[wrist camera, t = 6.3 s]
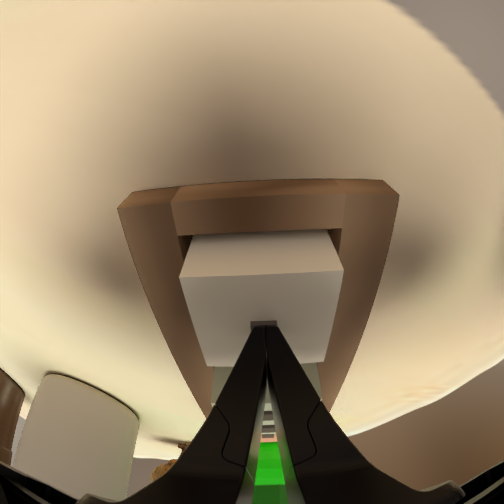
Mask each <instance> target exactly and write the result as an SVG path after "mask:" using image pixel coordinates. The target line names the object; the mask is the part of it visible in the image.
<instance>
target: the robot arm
mask: <svg viewBox="0 0 504 504" xmlns="http://www.w3.org/2000/svg"><path fill="white" fill-rule="evenodd" d="M266 353H267V357H266ZM267 381H268V389H269V395H270V401H271V407H272V413H273V418H274V424H275V430H276V436H277V441H278V447H279V453H280V459H281V464H282V470H283V476H284V481H285V487H286V493H287V498H288V504H504V460H503V461H502V462H500V463H498V464H496V465H494V466H492V467H491V468H489V469H487V470H486V471H484V472H482V473H480V474H479V475H477V476H476V477H474V478H472V479H471V480H469V481H467V482H466V483H464V484H462V485H460V486H458V485H457V484H455V483H454V482H453V481H451V480H450V481H447V482H444V483H441V484H438V485H436V486H433V487H430V488H427V489H424V490H420V491H418V490H416V489H413V488H411V487H409V486H407V485H406V484H404V483H402V482H400V481H398V480H397V479H395V478H393V477H391V476H390V475H388V474H386V473H385V472H383V471H381V470H380V469H378V468H376V467H375V466H374V465H373V464H371V463H370V462H369V461H368V460H367V459H366V458H365V457H364V456H363V455H362V453H361V452H360V451H359V450H358V449H357V448H356V446H355V445H354V444H353V443H352V442H351V441H350V440H349V438H348V437H347V436H346V435H345V433H344V432H343V431H342V430H341V428H340V427H339V426H338V424H337V423H336V422H335V420H334V419H333V417H332V416H331V414H330V413H329V411H328V410H327V408H326V406H325V405H324V403H323V401H321V398H320V397H319V395H318V393H317V392H316V390H315V388H314V387H313V385H312V383H311V382H310V380H309V378H308V376H307V375H306V373H305V371H304V370H303V368H302V366H301V365H300V363H299V361H298V360H297V358H296V356H295V354H294V353H293V351H292V349H291V348H290V346H289V344H288V342H287V341H286V339H285V337H284V336H283V334H282V332H281V330H280V329H279V327H278V326H277V325H272V326H266V328H265V326H254V327H253V328H252V330H251V332H250V334H249V337H248V339H247V341H246V343H245V345H244V347H243V349H242V351H241V353H240V355H239V357H238V359H237V361H236V363H235V365H234V367H233V369H232V371H231V373H230V375H229V377H228V379H227V381H226V383H225V385H224V387H223V389H222V391H221V393H220V394H219V396H218V398H217V400H216V402H215V405H214V406H213V408H212V410H211V411H210V413H209V415H208V417H207V419H206V420H205V422H204V424H203V425H202V427H201V428H200V430H199V431H198V433H197V434H196V436H195V437H194V439H193V440H192V441H191V443H190V444H189V445H188V447H187V448H186V449H185V450H184V452H183V453H182V454H181V456H180V457H179V458H178V459H177V461H176V462H175V463H174V464H173V466H172V467H171V468H170V469H169V470H168V471H167V472H166V473H165V474H163V475H162V476H161V477H159V478H158V479H156V480H155V481H153V482H152V483H150V484H149V485H147V486H146V487H144V488H143V489H141V490H140V491H138V492H136V493H135V494H133V495H131V496H130V497H128V498H126V499H124V500H122V501H116V500H112V499H108V498H104V497H100V496H97V495H93V494H89V493H87V494H85V495H84V496H83V497H82V498H81V499H77V498H75V497H73V496H71V495H69V494H67V493H65V492H63V491H61V490H59V489H57V488H55V487H53V486H51V485H48V484H46V483H44V482H42V481H40V480H38V479H36V478H34V477H31V476H29V475H27V474H25V473H23V472H21V471H19V470H17V469H15V468H13V467H11V466H9V465H7V464H5V463H4V462H2V461H0V504H252V499H253V492H254V485H255V484H254V483H255V478H256V471H257V464H258V456H259V449H260V441H261V433H262V425H263V416H264V408H265V399H266V390H267Z"/></svg>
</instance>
